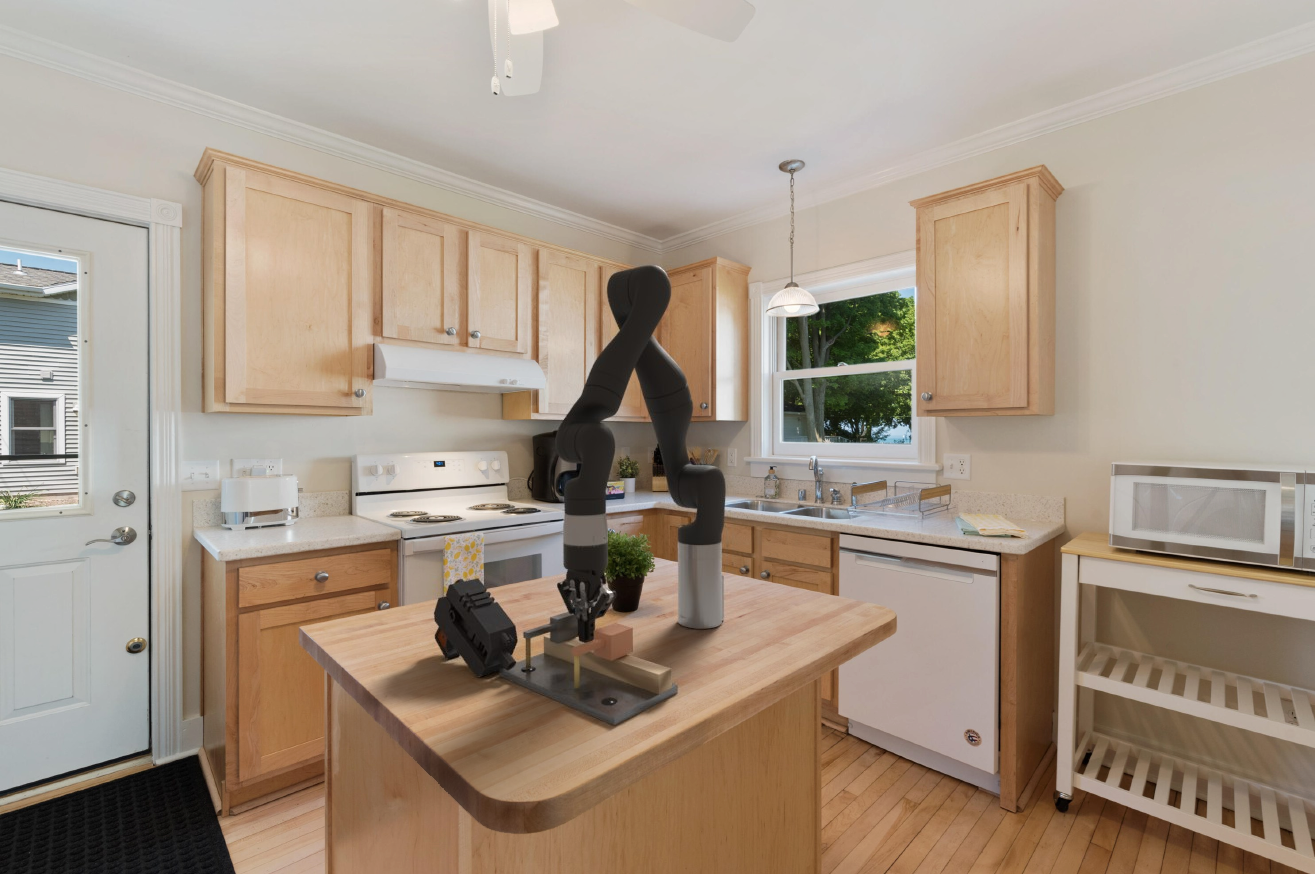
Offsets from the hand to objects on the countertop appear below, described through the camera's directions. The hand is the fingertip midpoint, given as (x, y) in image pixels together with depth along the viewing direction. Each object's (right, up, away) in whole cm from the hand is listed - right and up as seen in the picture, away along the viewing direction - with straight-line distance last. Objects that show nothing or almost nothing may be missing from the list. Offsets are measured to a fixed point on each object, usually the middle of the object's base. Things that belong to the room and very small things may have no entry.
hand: (586, 641), depth 105 cm
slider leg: (+3, -4, -6) cm, 8 cm away
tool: (-20, -5, +2) cm, 21 cm away
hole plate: (0, -5, -6) cm, 8 cm away
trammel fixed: (+1, -4, -5) cm, 6 cm away
